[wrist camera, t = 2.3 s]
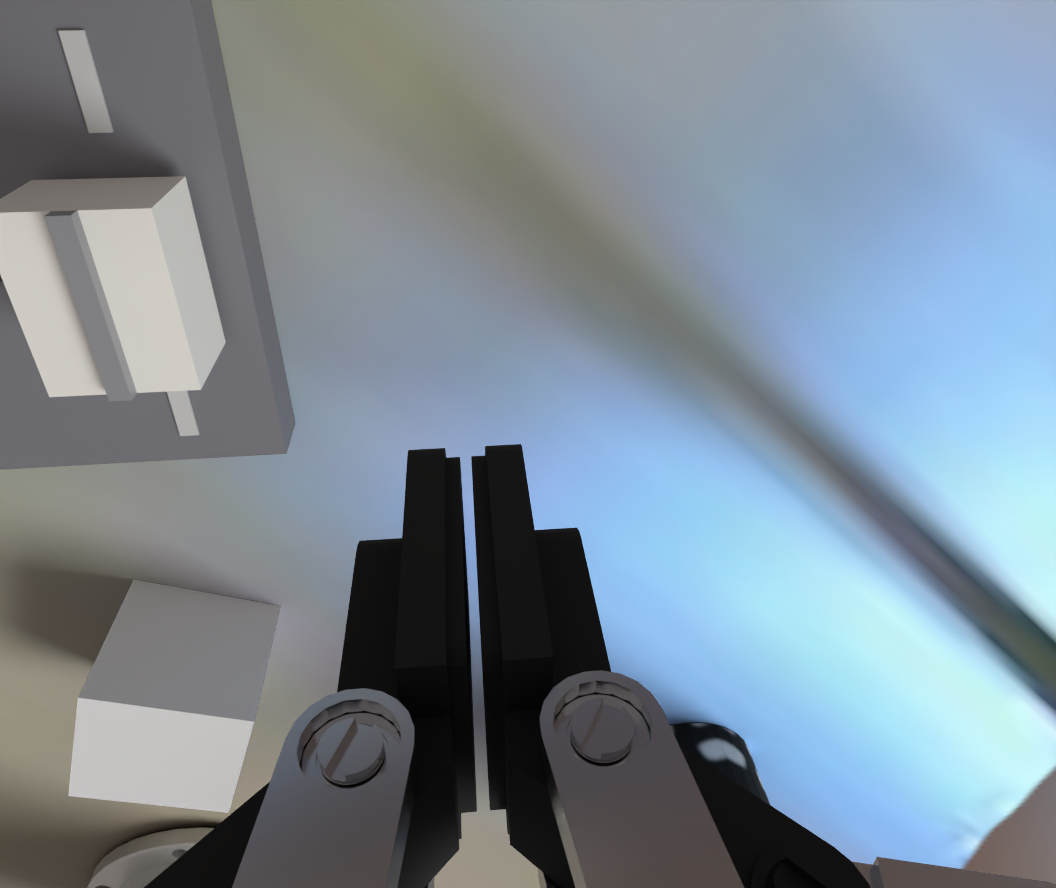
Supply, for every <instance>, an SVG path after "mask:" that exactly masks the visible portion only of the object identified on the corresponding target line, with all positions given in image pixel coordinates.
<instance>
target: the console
mask: <svg viewBox="0 0 1056 888" xmlns="http://www.w3.org/2000/svg"><path fill="white" fill-rule="evenodd" d="M172 176H185V177H186V181H187V185H188V189H189V193H190V197H191V201H192V205H193V210H194V214H195V218H196V222H197V226H198V230H199V234H200V238H201V243H202V247H203V251H204V255H205V259H206V263H207V267H208V271H209V276H210V280H211V284H212V288H213V292H214V296H215V300H216V304H217V309H218V313H219V317H220V321H221V325H222V329H223V333H224V337H225V342H226V343H225V345H224V347H223V348H222V350H221V352H220V354H219V356H218V358H217V360H216V362H215V364H214V366H213V368H212V369H211V371H210V373H209V375H208V377H207V379H206V381H205V383H204V385H203V387H202V389H201V390H188V391H168V392H147V393H137V394H136V395H135V397H134V398H133V400H128V401H109V400H108V397H107V394H106V395H85V396H65V397H49V395H48V393H47V390H46V388H45V385H44V383H43V380H42V378H41V375H40V373H39V370H38V368H37V365H36V363H35V360H34V358H33V355H32V353H31V350H30V348H29V345H28V343H27V340H26V338H25V335H24V333H23V330H22V328H21V325H20V323H19V320H18V318H17V315H16V313H15V310H14V308H13V305H12V303H11V300H10V298H9V295H8V293H7V290H6V288H5V285H4V283H3V280H2V278H1V275H0V469H18V468H36V467H54V466H72V465H90V464H108V463H126V462H144V461H162V460H180V459H198V458H216V457H234V456H252V455H270V454H286V453H287V450H288V446H289V443H290V440H291V436H292V433H293V429H294V426H295V420H294V414H293V409H292V404H291V399H290V394H289V389H288V384H287V379H286V374H285V369H284V364H283V359H282V354H281V349H280V344H279V339H278V334H277V329H276V324H275V319H274V314H273V309H272V304H271V299H270V294H269V289H268V284H267V279H266V274H265V269H264V264H263V259H262V254H261V249H260V244H259V239H258V234H257V229H256V224H255V219H254V214H253V209H252V204H251V199H250V194H249V189H248V184H247V179H246V174H245V169H244V164H243V159H242V154H241V149H240V144H239V139H238V134H237V129H236V124H235V119H234V114H233V109H232V104H231V99H230V94H229V89H228V84H227V79H226V74H225V69H224V64H223V59H222V54H221V49H220V44H219V39H218V34H217V29H216V24H215V19H214V14H213V9H212V4H211V0H0V199H1V198H2V197H4V196H6V195H8V194H9V193H11V192H13V191H14V190H16V189H18V188H19V187H21V186H23V185H24V184H26V183H28V182H29V181H31V180H56V179H95V178H133V177H172Z"/></svg>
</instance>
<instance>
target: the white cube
mask: <svg viewBox="0 0 1056 888" xmlns="http://www.w3.org/2000/svg"><path fill="white" fill-rule="evenodd" d="M280 608H281V606H278V605H272V604H266V603H261V602H255V601H250V600H244V599H239V598H233V597H228V596H222V595H217V594H211V593H205V592H200V591H194V590H189V589H183V588H178V587H172V586H167V585H161V584H155V583H150V582H144V581H139V580H133V582H132V584H131V586H130V588H129V590H128V592H127V594H126V597H125V599H124V601H123V603H122V605H121V607H120V609H119V611H118V614H117V616H116V618H115V620H114V622H113V624H112V626H111V629H110V631H109V633H108V635H107V637H106V639H105V641H104V643H103V646H102V648H101V650H100V652H99V654H98V656H97V658H96V660H95V663H94V665H93V667H92V669H91V671H90V673H89V675H88V677H87V680H86V682H85V684H84V686H83V688H82V690H81V692H80V694H79V697H78V703H77V713H76V723H75V734H74V744H73V754H72V764H71V775H70V785H69V795H68V796H74V797H83V798H93V799H103V800H112V801H122V802H131V803H141V804H150V805H160V806H170V807H179V808H189V809H198V810H208V811H217V812H227V813H229V810H230V806H231V803H232V799H233V796H234V792H235V788H236V785H237V781H238V778H239V774H240V771H241V767H242V764H243V760H244V756H245V753H246V749H247V746H248V742H249V739H250V735H251V732H252V728H253V724H254V721H255V716H256V712H257V708H258V703H259V699H260V695H261V690H262V686H263V682H264V677H265V673H266V669H267V664H268V660H269V656H270V651H271V647H272V643H273V638H274V634H275V630H276V625H277V621H278V617H279V612H280Z"/></svg>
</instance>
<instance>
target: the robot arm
mask: <svg viewBox="0 0 1056 888" xmlns="http://www.w3.org/2000/svg"><path fill="white" fill-rule="evenodd" d="M472 477H473V497H474V516H475V536H476V556H477V576H478V595H479V614H480V633H481V651H482V670H483V688H484V707H485V725H486V744H487V762H488V781H489V800H490V810H498V809H506V816H507V830H508V834H510V845H511V846H513V847H514V848H515V849H516V850H517V851H519V852H520V853H521V854H522V855H523V856H524V857H526V858H527V859H528V860H529V861H530V862H532V863H533V864H534V865H535V866H536V867H537V868H538V876H539V883H540V887H541V888H1056V884H1054V883H1050V882H1045V881H1038V880H1032V879H1025V878H1018V877H1011V876H1004V875H997V874H990V873H983V872H977V871H970V870H963V869H956V868H949V867H943V866H936V865H929V864H922V863H915V862H908V861H902V860H895V859H888V858H881V857H877V858H876V860H875V862H874V864H873V865H871V864H864V863H857V862H851V861H850V860H849V859H848V858H846V857H845V856H844V855H843V854H842V853H840V852H839V851H838V850H837V849H836V848H834V847H833V846H832V845H830V844H828V843H827V842H825V841H824V840H822V839H821V838H819V837H818V836H816V835H815V834H813V833H812V832H810V831H809V830H807V829H806V828H804V827H802V826H801V825H799V824H798V823H796V822H795V821H793V820H792V819H790V818H789V817H787V816H786V815H784V814H783V813H781V812H780V811H778V810H776V809H775V808H773V807H772V806H770V805H769V804H767V803H766V802H764V801H763V800H761V799H760V798H758V797H757V796H755V795H753V794H752V793H750V792H749V791H747V790H746V789H744V788H743V787H741V786H740V785H738V784H737V783H735V782H734V781H732V780H731V779H729V778H727V777H726V776H724V775H723V774H721V773H720V772H718V771H717V770H715V769H714V768H712V767H711V766H709V765H708V764H706V763H704V762H703V761H701V760H700V759H698V758H697V757H695V756H694V755H692V754H691V753H689V752H688V751H686V750H685V749H683V748H682V747H680V746H679V744H678V742H677V740H676V738H675V736H674V734H673V731H672V729H671V727H670V725H669V723H668V721H667V718H666V716H665V714H664V712H663V710H662V708H661V706H660V705H659V703H658V702H657V700H656V699H655V697H654V696H653V694H652V693H651V692H649V691H648V690H647V689H646V688H645V687H643V686H642V685H641V684H640V683H639V682H637V681H635V680H633V679H631V678H629V677H626V676H624V675H622V674H619V673H613V672H611V669H610V665H609V660H608V656H607V651H606V647H605V642H604V638H603V633H602V629H601V625H600V620H599V616H598V611H597V607H596V602H595V598H594V593H593V589H592V585H591V580H590V576H589V571H588V567H587V562H586V558H585V553H584V549H583V545H582V540H581V536H580V533H579V530H578V529H577V528H564V529H548V530H534V524H533V517H532V511H531V504H530V497H529V491H528V484H527V478H526V471H525V464H524V458H523V451H522V446H521V444H517V445H498V446H485V456H472ZM476 811H477V804H476V778H475V752H474V727H473V701H472V675H471V650H470V624H469V600H468V582H467V565H466V549H465V533H464V516H463V500H462V484H461V467H460V457H453V458H446V452H445V448H440V449H421V450H409V451H408V459H407V474H406V490H405V505H404V521H403V536H402V538H400V539H383V540H367V541H359V543H358V546H357V551H356V558H355V565H354V573H353V580H352V587H351V595H350V602H349V609H348V617H347V624H346V632H345V639H344V646H343V654H342V661H341V668H340V676H339V683H338V690H337V693H334V694H331V695H328V696H326V697H324V698H323V699H321V700H319V701H318V702H316V703H315V704H313V705H311V706H310V707H309V708H308V709H307V710H306V711H305V712H304V713H303V714H302V715H301V716H300V717H299V718H298V719H297V720H296V721H295V722H294V724H293V726H292V728H291V730H290V732H289V733H288V735H287V737H286V739H285V742H284V745H283V747H282V750H281V753H280V756H279V758H278V761H277V764H276V767H275V770H274V772H273V775H272V778H271V781H270V782H269V783H268V784H267V785H265V786H264V787H263V788H262V789H261V790H259V791H258V792H257V793H256V794H255V795H253V796H252V797H251V798H250V799H249V800H248V801H246V802H245V803H244V804H243V805H242V806H240V807H239V808H238V809H237V810H236V811H234V812H233V813H232V814H231V815H230V816H228V817H227V818H226V819H225V820H224V821H223V822H221V823H220V824H219V825H218V826H217V827H215V828H208V827H196V828H181V829H173V830H167V831H162V832H156V833H153V834H149V835H146V836H143V837H140V838H136V839H134V840H132V841H130V842H128V843H126V844H123V845H121V846H119V847H117V848H116V849H114V850H113V851H112V852H110V853H109V854H108V855H106V856H105V857H104V858H103V859H102V860H101V861H100V863H99V864H98V865H97V866H96V867H95V870H94V872H93V875H92V877H91V880H90V882H89V885H88V887H87V888H434V877H435V875H436V874H437V873H438V872H439V871H440V870H441V869H442V868H443V867H444V865H445V864H446V863H447V862H448V861H449V860H450V859H451V858H452V857H453V855H454V854H455V853H456V852H457V851H458V850H459V839H462V838H461V813H465V812H476Z"/></svg>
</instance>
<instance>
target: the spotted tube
mask: <svg viewBox="0 0 1056 888" xmlns="http://www.w3.org/2000/svg"><path fill="white" fill-rule="evenodd" d="M670 727H671V729H672V731H673V734H674V736H675V738H676V740H677V742H678V744H679V746H680V747H682V748H683V749H685V750H686V751H688V752H689V753H691V754H692V755H694V756H695V757H697V758H698V759H700V760H701V761H703V762H704V763H706V764H708V765H709V766H711V767H712V768H714V769H715V770H717V771H718V772H720V773H721V774H723V775H724V776H726V777H727V778H729V779H731V780H732V781H734V782H735V783H737V784H738V785H740V786H741V787H743V788H744V789H746V790H747V791H749V792H750V793H752V794H753V795H755V796H757V797H758V798H760V799H761V800H763V801H764V802H766V803H767V804H769V805H770V803H769V801H768V798H767V796H766V793H765V790H764V788H763V785H762V783H761V780H760V777H759V775H758V772H757V770H756V767H755V764H754V762H753V759H752V757H751V754H750V751H749V749H748V747H747V745H746V743H745V741H744V740H743V739H742V738H741V737H740V736H739V735H738V734H736V733H734V732H732V731H731V730H729V729H726V728H723V727H720V726H717V725H711V724H704V723H687V724H679V725H672V726H670Z"/></svg>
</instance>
